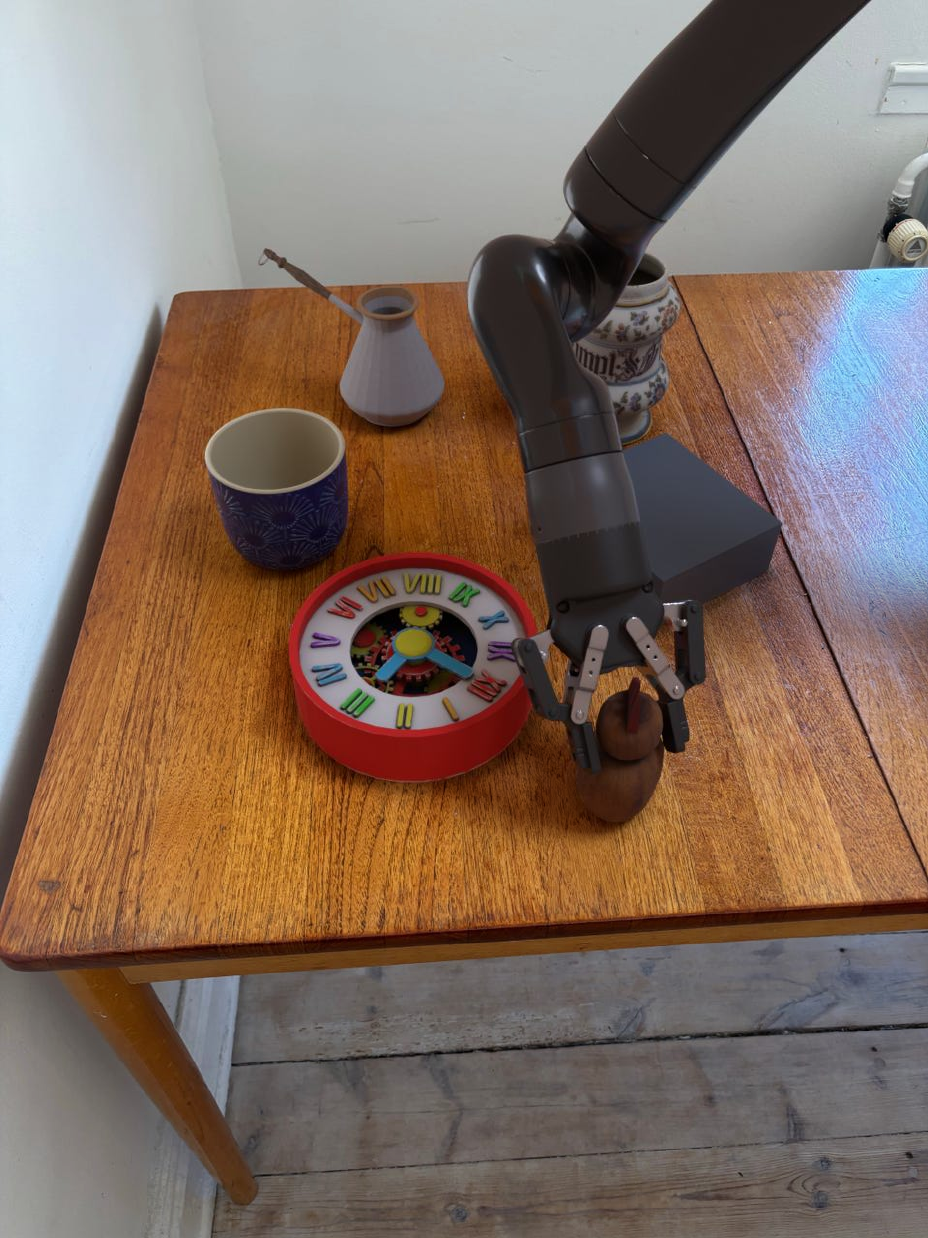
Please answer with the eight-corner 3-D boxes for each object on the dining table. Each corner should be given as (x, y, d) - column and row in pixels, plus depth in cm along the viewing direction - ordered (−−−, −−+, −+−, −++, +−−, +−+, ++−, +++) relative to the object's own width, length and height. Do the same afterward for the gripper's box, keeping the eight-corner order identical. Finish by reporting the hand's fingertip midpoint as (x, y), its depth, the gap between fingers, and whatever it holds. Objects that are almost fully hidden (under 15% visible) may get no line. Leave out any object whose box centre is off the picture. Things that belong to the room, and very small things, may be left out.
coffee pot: (463, 394, 114) (463, 270, 103) (412, 449, 107) (407, 322, 96) (306, 345, 121) (291, 224, 110) (248, 394, 114) (226, 269, 103)
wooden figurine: (631, 848, 75) (662, 725, 64) (560, 815, 76) (579, 690, 65) (665, 781, 79) (699, 655, 68) (597, 751, 80) (620, 624, 70)
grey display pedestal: (657, 479, 104) (666, 431, 100) (768, 570, 95) (783, 522, 90) (547, 528, 99) (551, 480, 94) (653, 629, 90) (663, 581, 85)
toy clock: (391, 521, 90) (584, 615, 83) (394, 568, 95) (577, 661, 87) (234, 659, 79) (441, 782, 71) (246, 705, 84) (442, 826, 76)
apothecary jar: (599, 376, 117) (617, 225, 104) (683, 420, 111) (714, 266, 98) (529, 419, 111) (538, 265, 98) (613, 468, 105) (636, 311, 92)
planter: (312, 600, 92) (298, 508, 84) (199, 560, 95) (175, 468, 87) (377, 518, 100) (370, 427, 92) (270, 484, 103) (254, 394, 95)
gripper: (502, 545, 65) (555, 798, 66) (703, 502, 68) (752, 744, 69) (475, 551, 72) (524, 779, 73) (658, 512, 75) (702, 731, 76)
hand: (634, 761), depth 71 cm, fingers closed on wooden figurine, 5 cm apart
